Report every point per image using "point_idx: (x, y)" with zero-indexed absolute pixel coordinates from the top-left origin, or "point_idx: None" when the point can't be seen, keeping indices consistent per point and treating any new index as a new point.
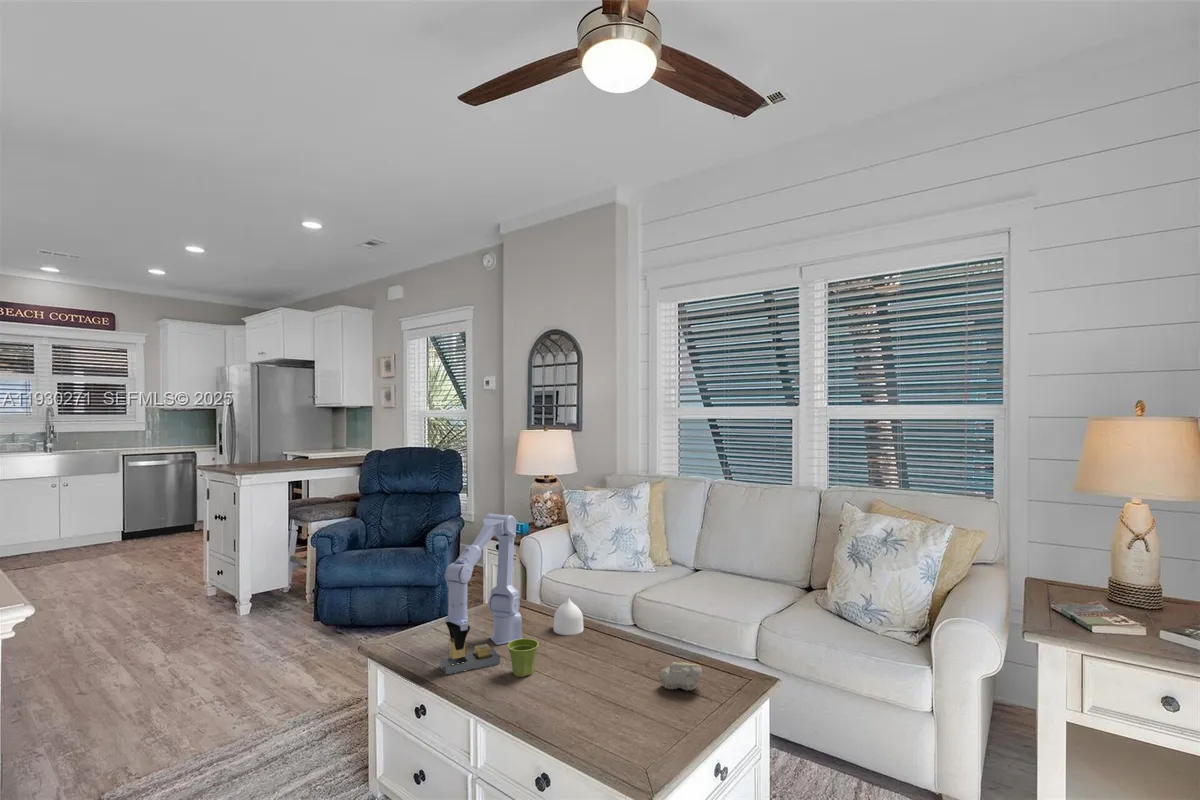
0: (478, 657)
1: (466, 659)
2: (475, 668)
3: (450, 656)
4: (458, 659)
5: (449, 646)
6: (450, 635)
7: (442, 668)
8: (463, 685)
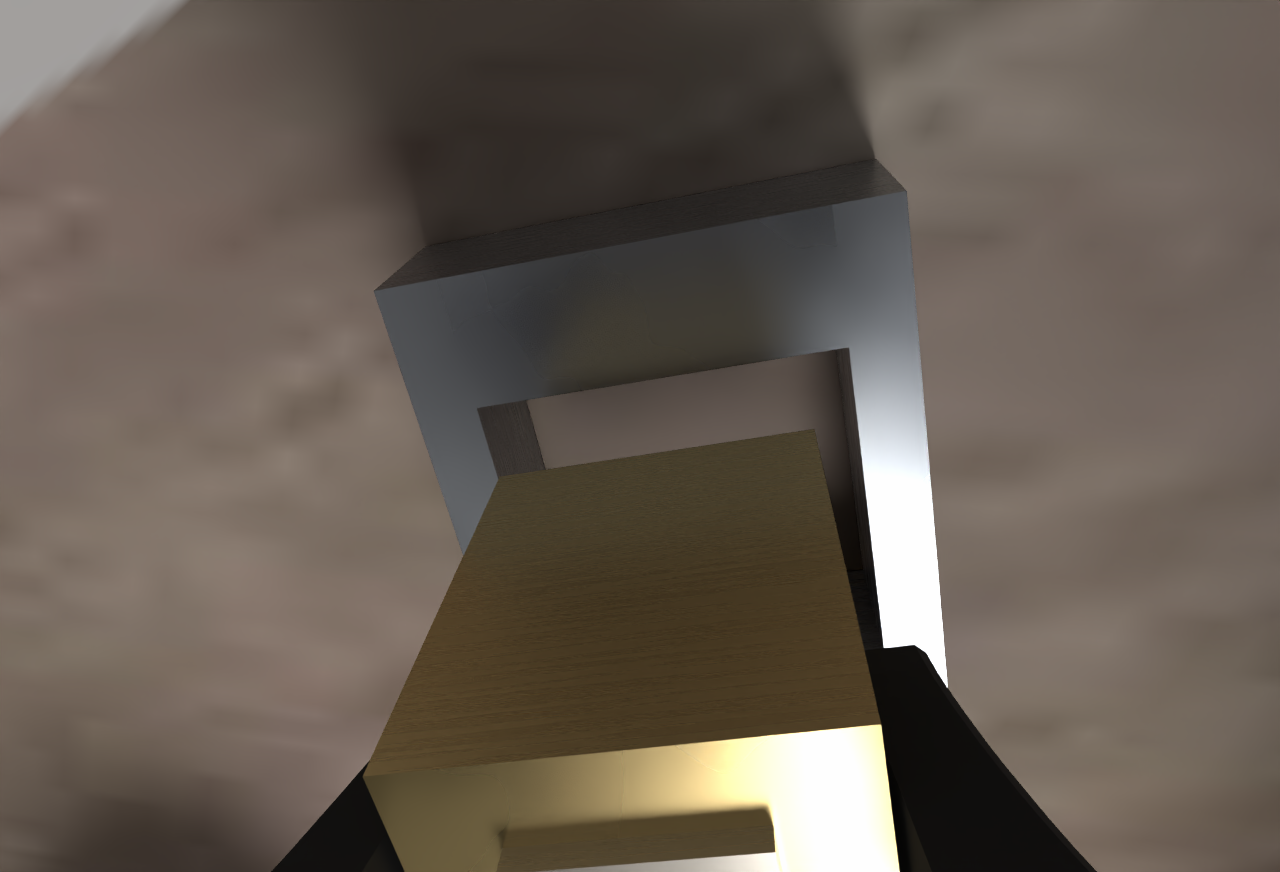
0: None
1: None
2: None
3: (663, 454)
4: (866, 539)
5: (772, 561)
6: (986, 853)
7: (681, 204)
8: (23, 479)
